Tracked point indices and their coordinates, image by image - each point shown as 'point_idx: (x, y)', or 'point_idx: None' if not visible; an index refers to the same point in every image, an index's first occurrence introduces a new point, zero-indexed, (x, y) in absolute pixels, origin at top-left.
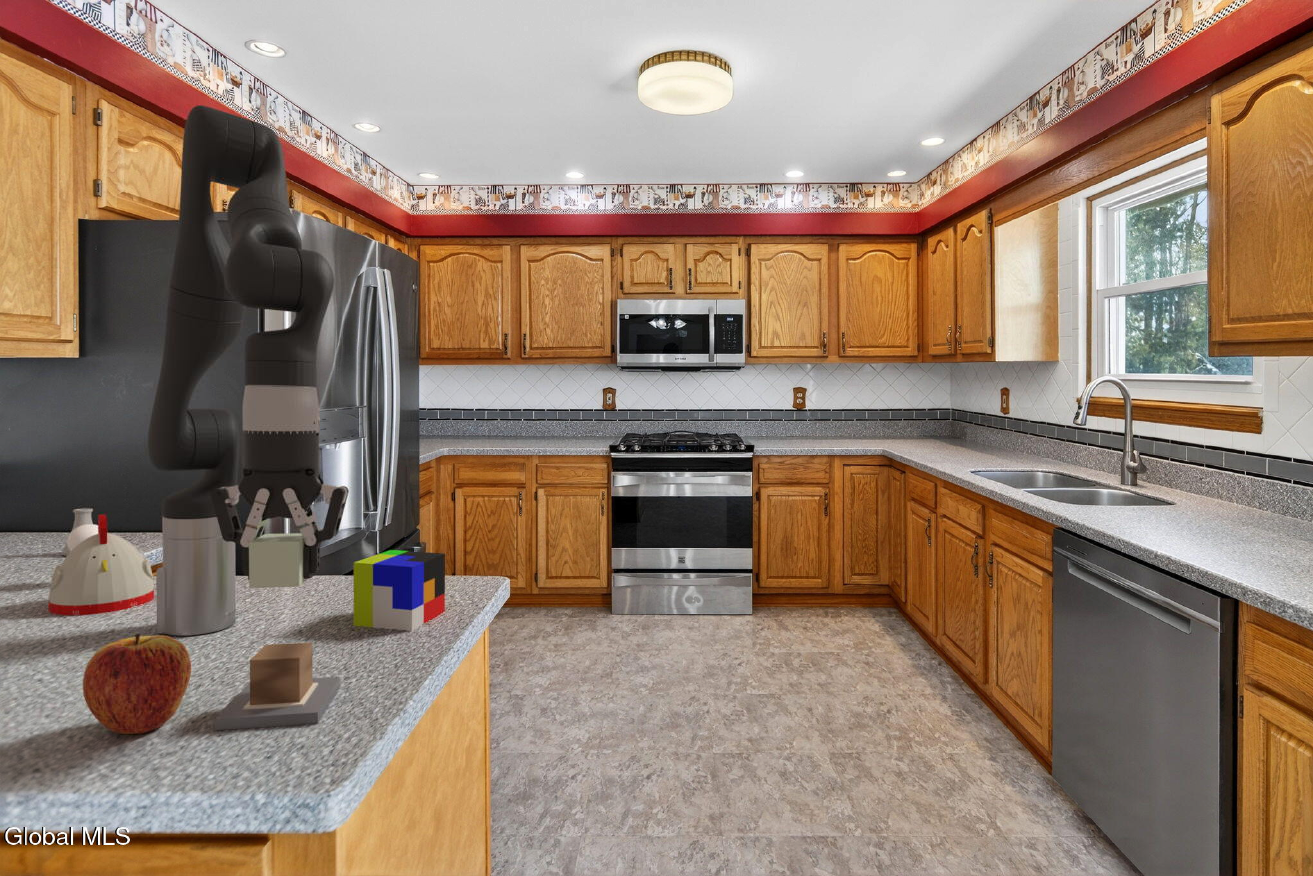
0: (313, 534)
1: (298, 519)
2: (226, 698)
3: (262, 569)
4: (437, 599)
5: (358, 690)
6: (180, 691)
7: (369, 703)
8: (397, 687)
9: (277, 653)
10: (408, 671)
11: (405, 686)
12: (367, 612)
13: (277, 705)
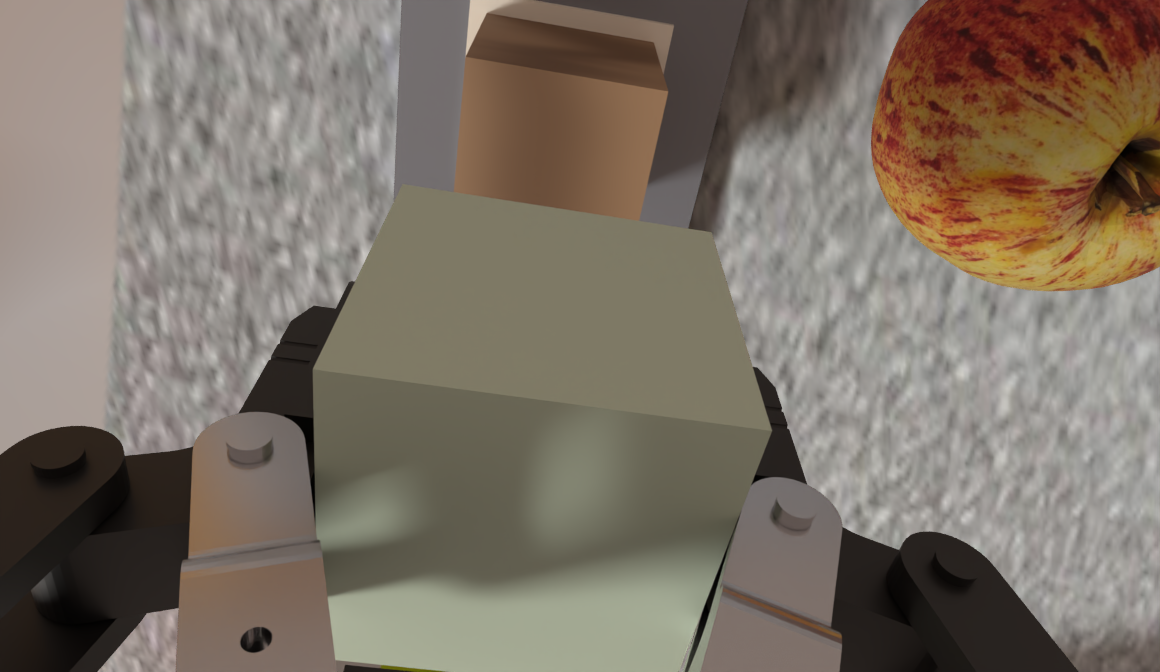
0: (199, 486)
1: (274, 605)
2: (738, 223)
3: (639, 280)
4: None
5: (331, 161)
6: (896, 51)
7: (265, 29)
8: (199, 146)
9: (567, 145)
10: (196, 274)
11: (172, 147)
12: (399, 668)
13: (559, 6)
